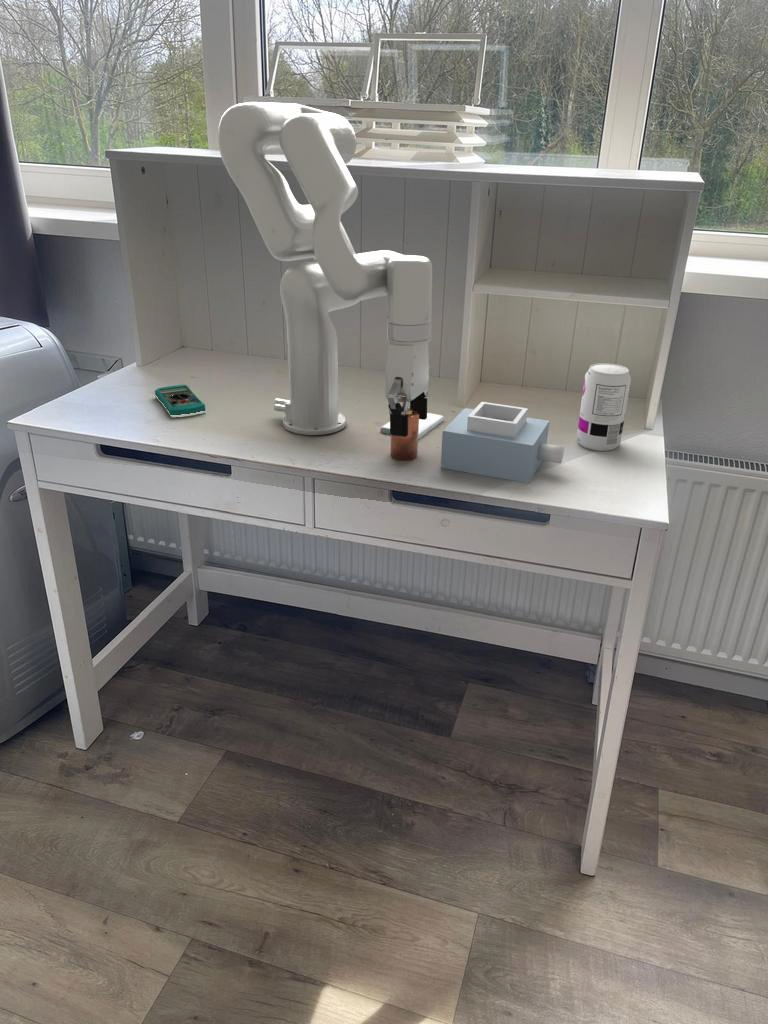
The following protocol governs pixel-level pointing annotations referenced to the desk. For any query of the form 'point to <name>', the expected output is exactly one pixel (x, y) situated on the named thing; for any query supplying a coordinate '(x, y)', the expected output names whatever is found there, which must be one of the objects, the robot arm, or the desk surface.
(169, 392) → the digital multimeter
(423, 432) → the external hard drive
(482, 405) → the gearbox
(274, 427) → the desk surface
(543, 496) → the desk surface
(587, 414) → the supplement can
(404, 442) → the orange gas canister
